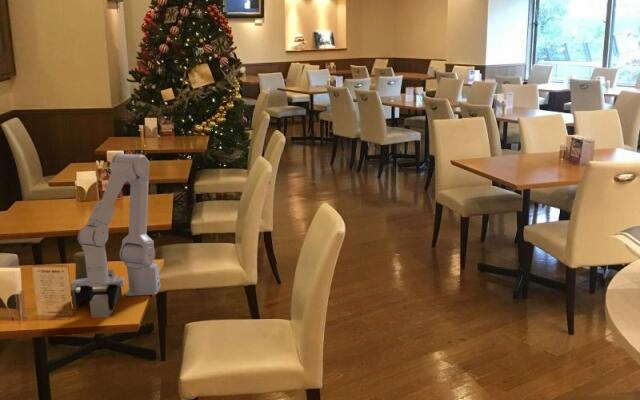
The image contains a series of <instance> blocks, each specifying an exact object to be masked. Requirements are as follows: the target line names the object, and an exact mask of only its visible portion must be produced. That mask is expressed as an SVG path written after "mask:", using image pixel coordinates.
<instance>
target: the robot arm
mask: <svg viewBox="0 0 640 400" xmlns="http://www.w3.org/2000/svg"><path fill="white" fill-rule="evenodd" d="M150 163H151V162H150V160H149V159H148V157H146V156H145V155H144V154H130V153H129V154H128V153H119V152H118V153H115V154H114V155H113V156H112V158H111V161H110V164H109V171H110V175H109V178H108V182H107V184H106V187H105V189H104V193H103V195H102V199H101V200H98V201H97V202H95V204H94V206H93V209H92V211H91V213H90V216H89V218H88V220H87V223H86V224H85V225H83V226H82V227H81V228H80V229H79V231H78V235H77V241H78V243H79V244H80V245H81V249H82V251H83V252H84V254H85V261H86V269H87V277H88V278H85V279H78V280H75V279H73V280H72V281H71V285H72V286H73V288H77V287H80V294H81V295H82V296H83V297H84V299H83V300H84V301H86V304H87V306H88V308H89V311H90V312H91V309H90V301H91V299H92V298H93V287H99V286H108V288H107V289H106V292H107V295H108V300H109V309H110V310H112V309H113V310H114V308H115V307H114V299H115V295H116V291H117V288H118V286H119V285H120V286H121V287H124V286H125V285H126V278H125V277H120V276H115V277H109V276H108V270H109V267H108V268H107V266H108V259H107V260H106V257H107V252H105V251H106V244H107V242H108V240H109V230H110V227H109V226H110V223H111V220H112V218H113V216H114V214H115V212H116V209H115V206H114V203H115V202H116V200H117V198H118V196H119V194H120V192H121V190H122V189H123V187H124V185H125V183H127V182H128V183H129V185H130V187H129V189H130V192H129V212H128V213H129V215H128V216H129V218H128V234H127V235H126V236H125V237H124V238H123V239H122V240H121V241H122V242H121V247H120V249H119V259H120V260H121V261H122V262H123V263H124V266H126V270H127V280H128V288H129V289H128V290H127V291H126V294H125V296H126V297H129V296H130V297H131V296H132V297H133V296H149V295H151V296H154V295H157V294H158V293H159V290H160V288H161V286H162V285H161V280H160V279H161V277H160V276H161V275H160V268H159V265H158V263H154V261H155V259H156V250H155V246H154V245H155V241H154V240H153V239H152V238H151V237H150V236H149V235H148V234H147V233H148V231H147V228H148V207H149V184H150V183H149V182H150V181H149V180H150ZM119 277H120V278H119Z"/></svg>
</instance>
